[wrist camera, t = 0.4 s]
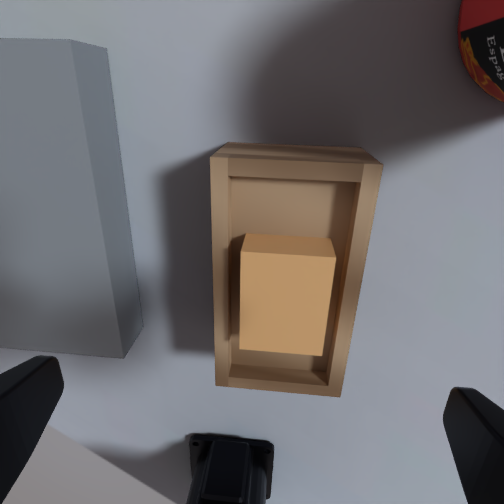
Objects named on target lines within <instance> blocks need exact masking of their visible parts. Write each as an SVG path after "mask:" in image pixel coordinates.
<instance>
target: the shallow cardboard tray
mask: <svg viewBox="0 0 504 504" xmlns="http://www.w3.org/2000/svg"><path fill="white" fill-rule="evenodd" d="M382 170H383V164H382V163H381V162H379V161H378V160H377V159H375V158H374V157H373V156H371V155H370V154H369V153H367V152H366V151H365V150H363V149H362V148H360V147H335V146H310V145H286V144H261V143H236V142H227V143H226V144H225V145H224V146H223V147H221V148H220V149H219V150H218V151H217V152H215V153H214V154H213V155H212V156H211V157H210V180H211V221H212V261H213V302H214V343H215V384H216V386H224V387H235V388H246V389H256V390H267V391H278V392H288V393H299V394H310V395H320V396H331V397H340V396H341V391H342V385H343V380H344V375H345V369H346V364H347V358H348V353H349V348H350V342H351V337H352V331H353V326H354V321H355V315H356V310H357V304H358V299H359V294H360V288H361V283H362V278H363V272H364V267H365V261H366V256H367V251H368V245H369V240H370V234H371V229H372V224H373V218H374V213H375V207H376V202H377V197H378V191H379V186H380V180H381V175H382ZM246 233H251V234H268V235H285V236H301V237H318V238H331V242H332V245H333V248H334V252H335V255H336V263H335V270H334V277H333V284H332V290H331V297H330V304H329V311H328V318H327V325H326V332H325V339H324V346H323V353H322V356H315V355H303V354H291V353H280V352H268V351H256V350H244V349H239V340H240V269H241V249H242V246H243V242H244V239H245V235H246Z"/></svg>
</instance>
